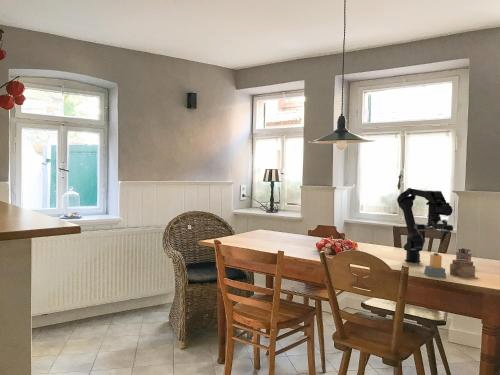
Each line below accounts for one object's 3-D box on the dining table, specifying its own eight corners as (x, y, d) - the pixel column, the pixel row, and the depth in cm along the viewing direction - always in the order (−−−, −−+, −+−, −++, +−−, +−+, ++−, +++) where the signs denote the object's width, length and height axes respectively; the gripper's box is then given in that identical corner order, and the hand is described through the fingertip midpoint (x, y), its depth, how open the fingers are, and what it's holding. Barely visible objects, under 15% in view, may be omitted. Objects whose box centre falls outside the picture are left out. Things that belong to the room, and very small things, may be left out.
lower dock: (424, 273, 220) (424, 265, 220) (439, 273, 220) (440, 265, 220) (429, 276, 213) (430, 268, 213) (445, 277, 213) (446, 269, 212)
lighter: (454, 265, 242) (455, 247, 242) (456, 264, 244) (457, 246, 244) (469, 268, 236) (470, 249, 236) (472, 267, 239) (473, 248, 238)
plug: (429, 270, 218) (430, 252, 218) (437, 270, 218) (438, 252, 218) (432, 271, 214) (433, 254, 214) (441, 272, 214) (441, 254, 214)
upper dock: (449, 273, 221) (450, 259, 221) (461, 272, 225) (461, 258, 224) (463, 277, 214) (463, 262, 214) (474, 276, 217) (475, 262, 217)
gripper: (421, 214, 226) (420, 245, 227) (458, 216, 225) (457, 246, 226) (414, 213, 237) (413, 241, 238) (449, 214, 237) (448, 242, 237)
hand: (432, 243), depth 234 cm, fingers open, 9 cm apart
